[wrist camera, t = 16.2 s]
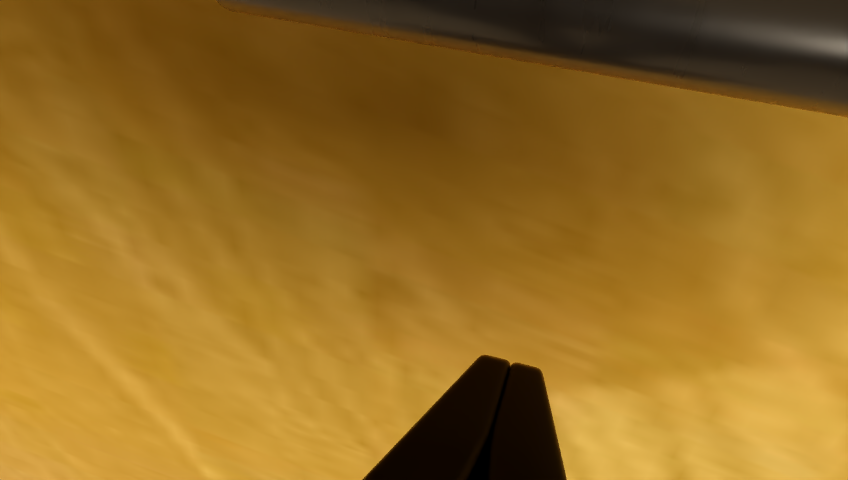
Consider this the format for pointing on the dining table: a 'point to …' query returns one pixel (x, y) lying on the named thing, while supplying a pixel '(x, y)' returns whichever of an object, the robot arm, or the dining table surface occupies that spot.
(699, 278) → the dining table surface
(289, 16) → the drawer
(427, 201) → the dining table surface
